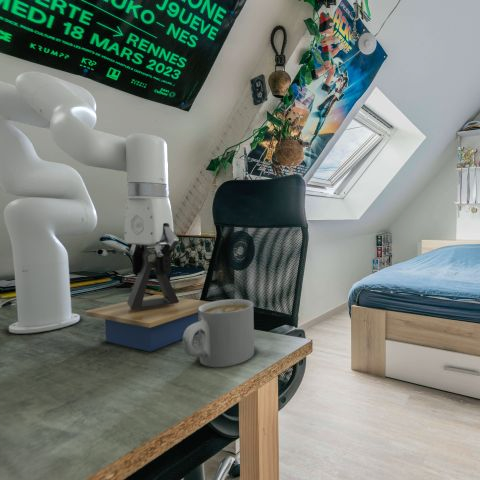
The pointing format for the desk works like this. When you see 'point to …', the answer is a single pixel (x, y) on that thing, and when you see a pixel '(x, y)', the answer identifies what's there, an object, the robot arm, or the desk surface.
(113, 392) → the desk surface
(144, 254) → the phone stand
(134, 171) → the robot arm
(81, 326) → the desk surface
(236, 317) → the coffee mug
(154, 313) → the oak board
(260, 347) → the desk surface
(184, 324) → the blue box
